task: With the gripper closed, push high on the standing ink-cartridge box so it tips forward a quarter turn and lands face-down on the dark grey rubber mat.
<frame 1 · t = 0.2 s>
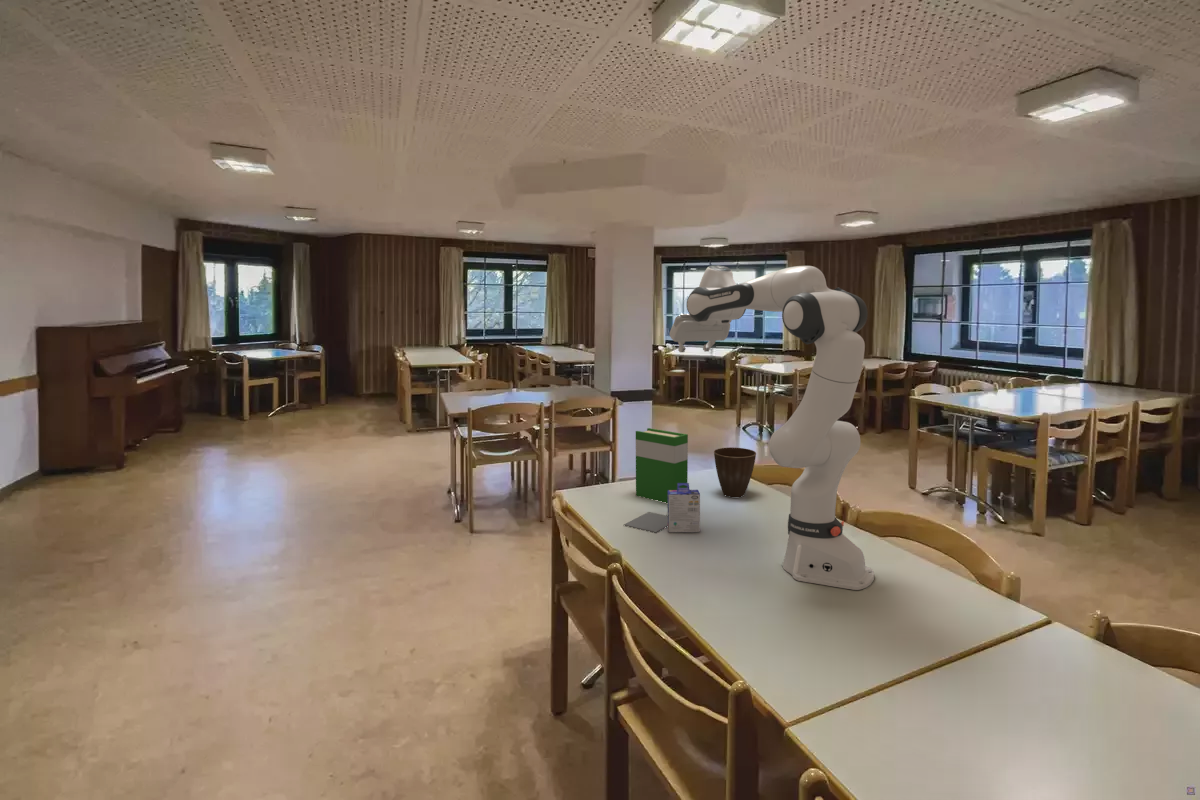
hand: (693, 351, 210), 54 cm above the table, tool tilted 30°, fingers open, 8 cm apart
hardback book: (661, 498, 231), on the table
mat: (652, 522, 205), on the table
plant pot: (734, 495, 233), on the table
ink cartridge box: (683, 530, 198), on the table
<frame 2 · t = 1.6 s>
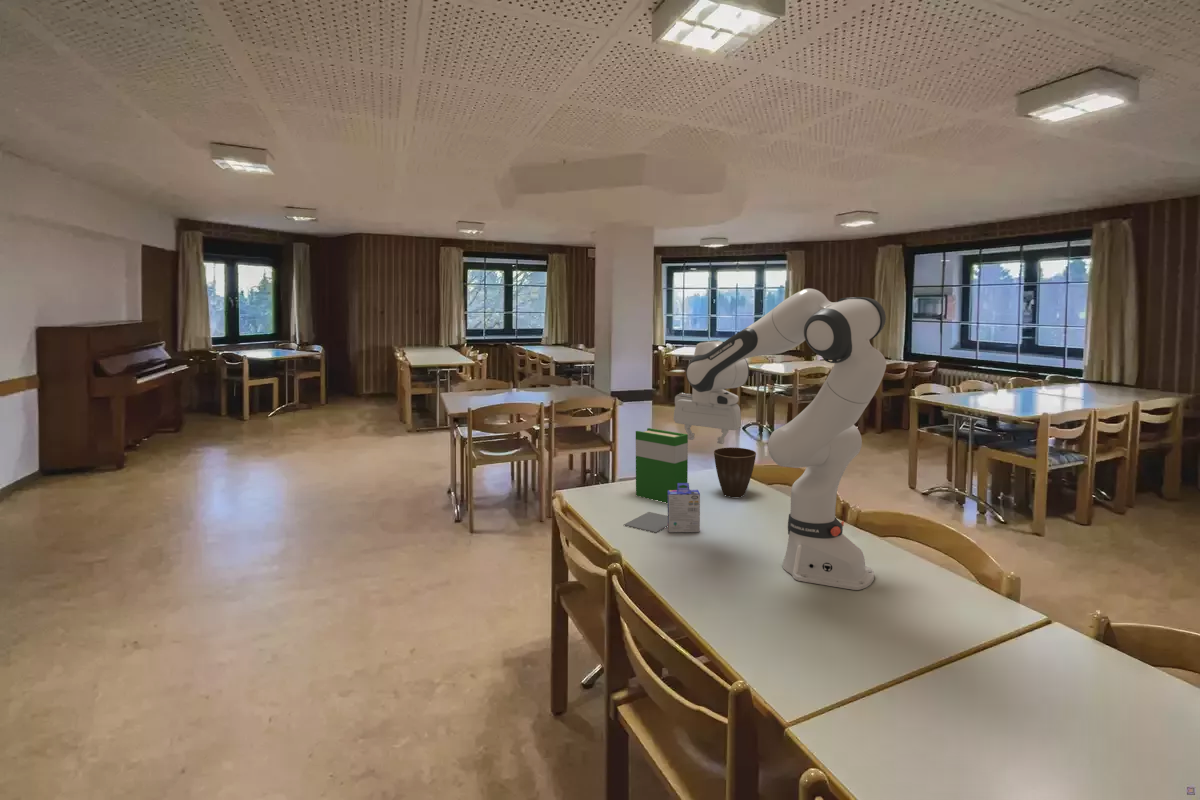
hand: (705, 441, 191), 29 cm above the table, tool pointing down, fingers open, 8 cm apart
nothing on the table moved.
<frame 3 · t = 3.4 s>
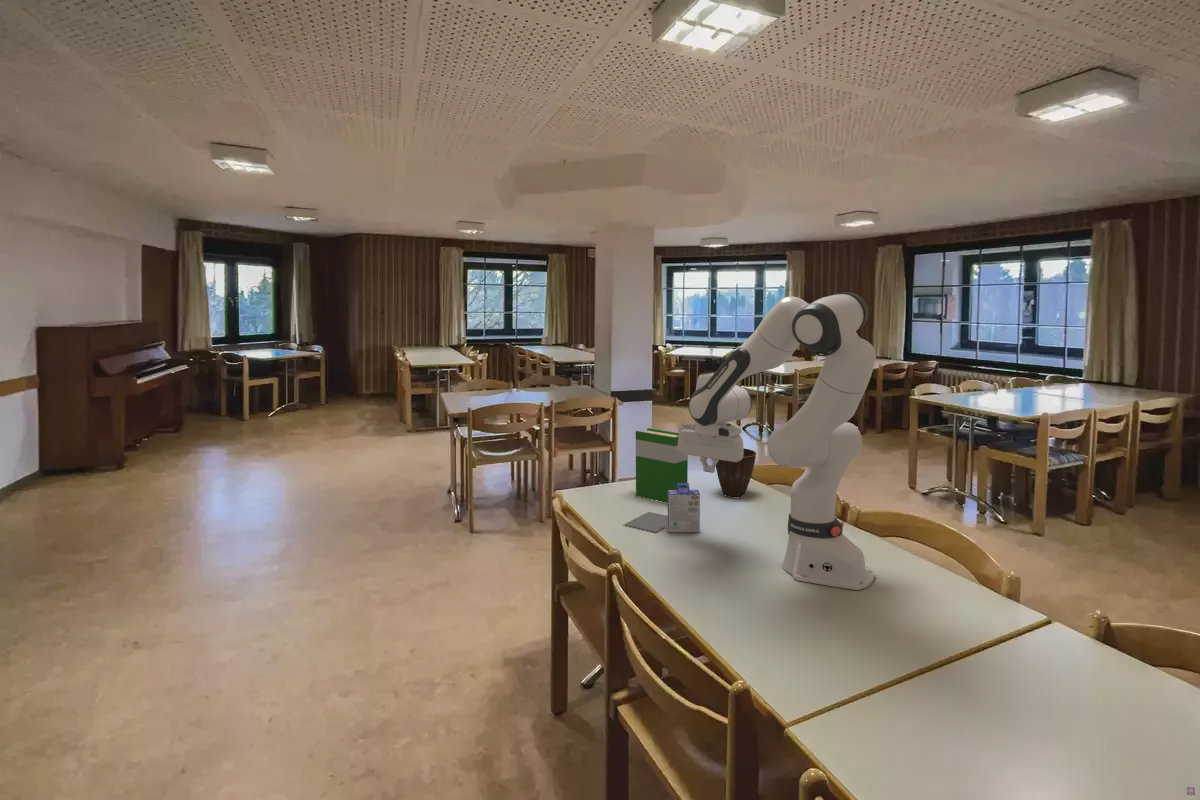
hand: (709, 471, 191), 20 cm above the table, tool pointing down, fingers closed
nothing on the table moved.
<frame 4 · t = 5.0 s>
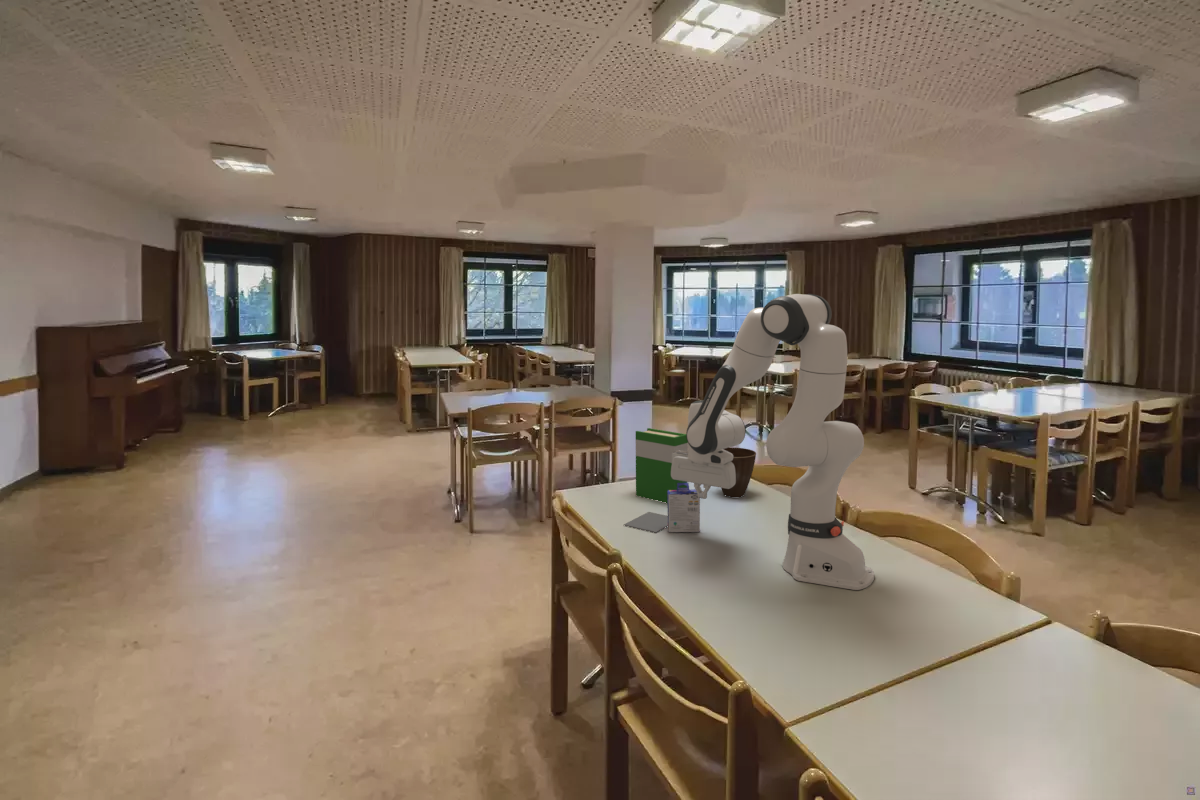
hand: (702, 497, 193), 11 cm above the table, tool pointing down, fingers closed
ink cartridge box: (683, 530, 198), on the table, touching gripper
everything else where it was.
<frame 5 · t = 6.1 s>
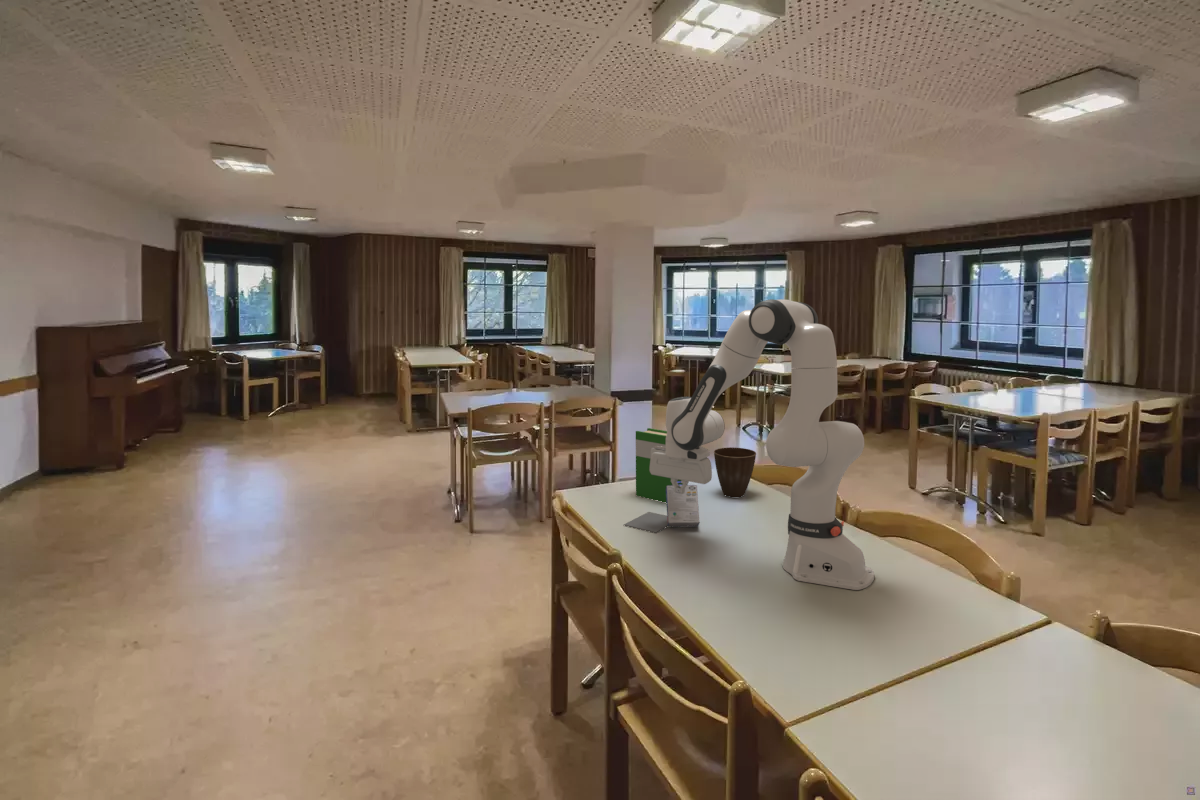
hand: (679, 492, 198), 11 cm above the table, tool pointing down, fingers closed
ink cartridge box: (683, 525, 199), point 1 cm above the table
everything else where it was.
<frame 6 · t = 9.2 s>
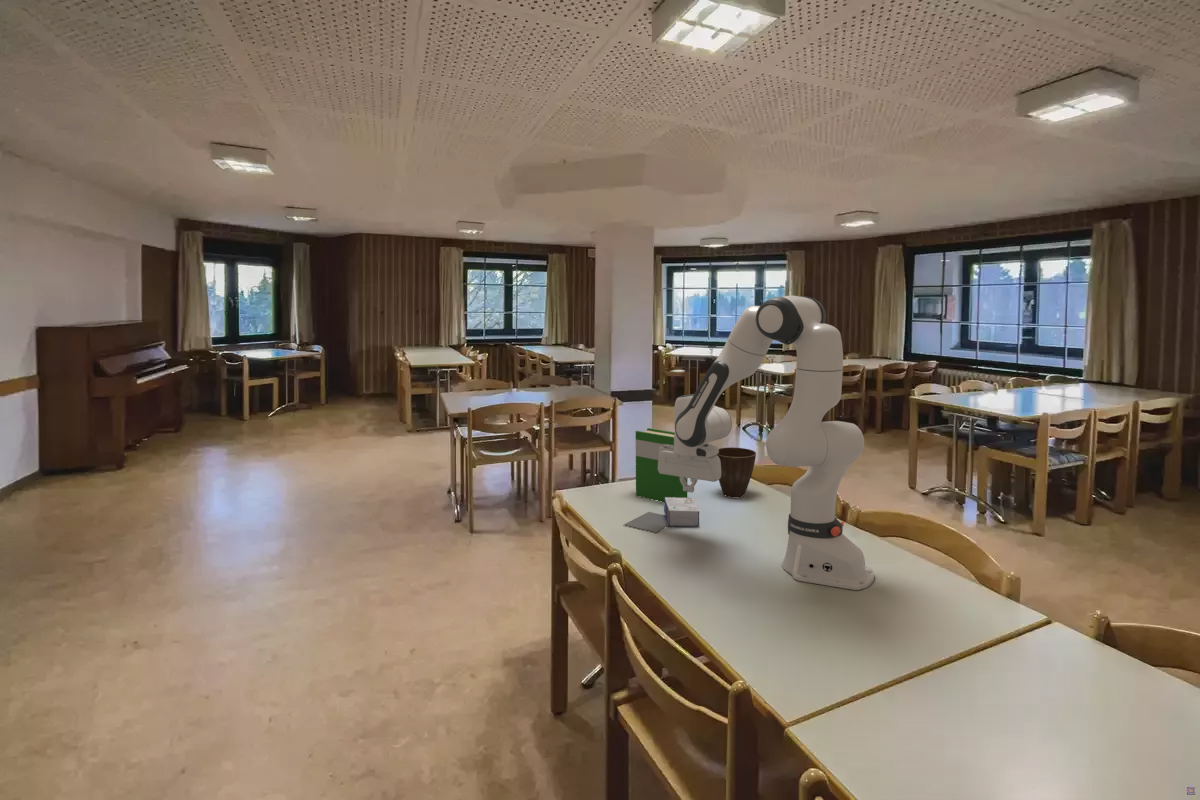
hand: (688, 491, 195), 13 cm above the table, tool pointing down, fingers closed
ink cartridge box: (684, 519, 200), point 3 cm above the table, touching mat
everything else where it was.
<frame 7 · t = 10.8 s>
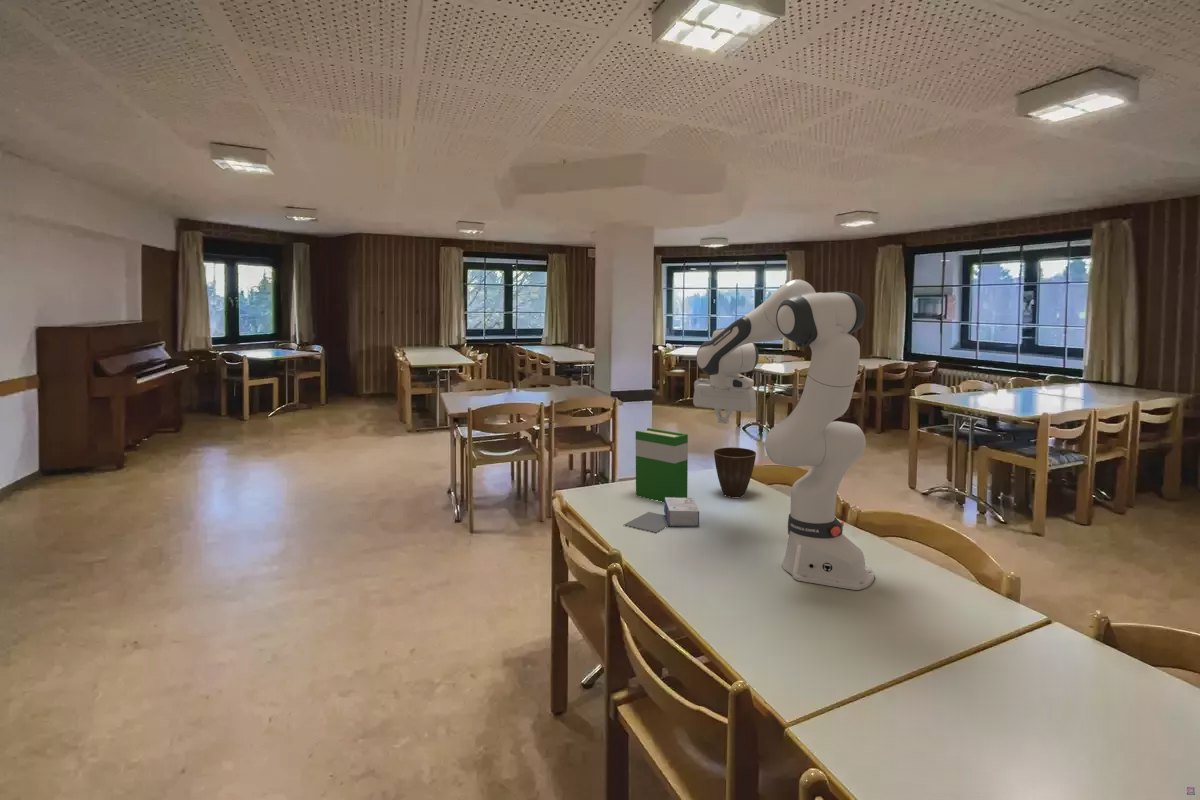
hand: (723, 423, 203), 32 cm above the table, tool pointing down, fingers closed
nothing on the table moved.
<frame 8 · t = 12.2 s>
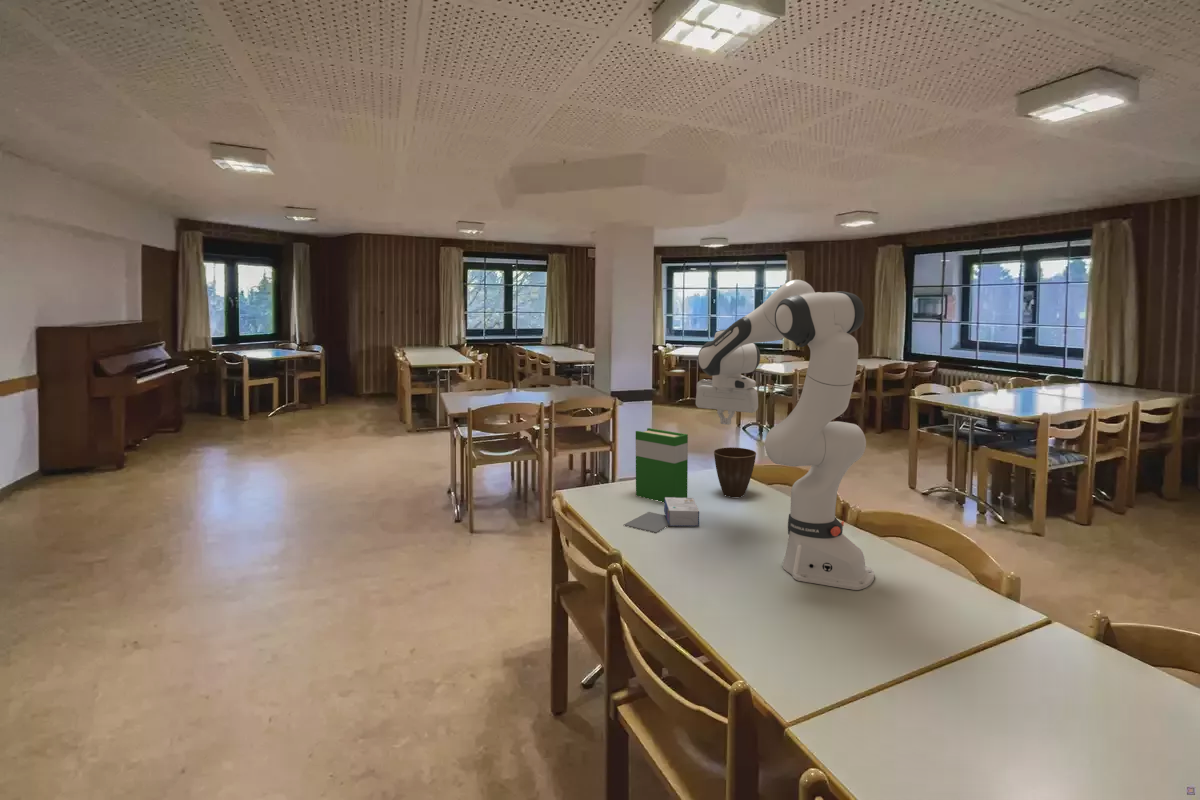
hand: (725, 423, 204), 31 cm above the table, tool pointing down, fingers closed
nothing on the table moved.
at the end: ink cartridge box tilted 85°; ink cartridge box inside the target area (10.7 cm from its centre), point 2.5 cm above the table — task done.
